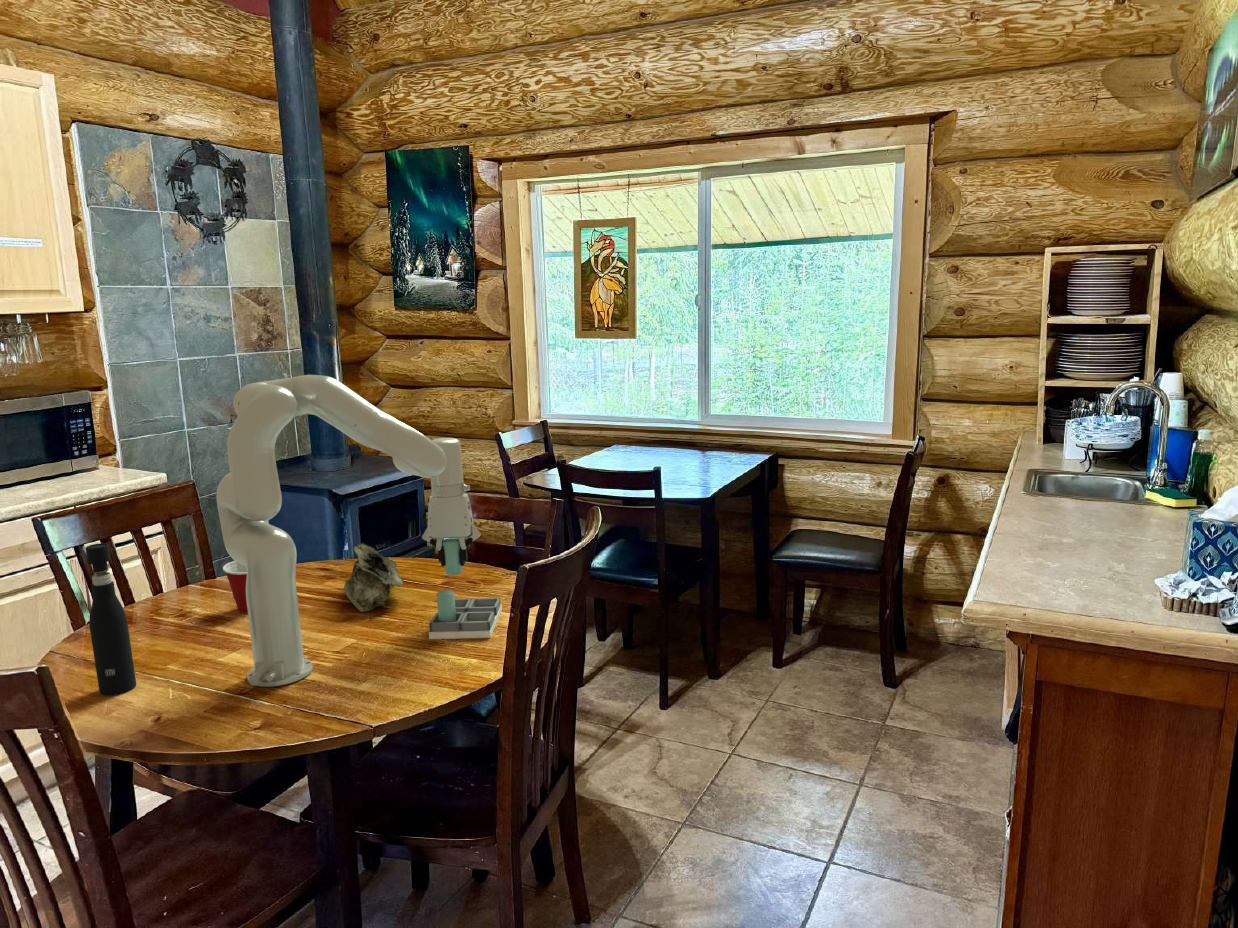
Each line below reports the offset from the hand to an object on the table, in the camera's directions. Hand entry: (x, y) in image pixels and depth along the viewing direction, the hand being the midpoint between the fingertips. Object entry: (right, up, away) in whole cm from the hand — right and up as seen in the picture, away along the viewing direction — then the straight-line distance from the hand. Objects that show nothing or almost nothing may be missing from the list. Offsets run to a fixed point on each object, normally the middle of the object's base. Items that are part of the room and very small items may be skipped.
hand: (453, 563), depth 199 cm
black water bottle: (-61, -22, -32) cm, 72 cm away
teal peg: (0, -2, 0) cm, 2 cm away
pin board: (+4, -14, -2) cm, 15 cm away
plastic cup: (-54, -13, +12) cm, 57 cm away
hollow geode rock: (-24, -11, +20) cm, 33 cm away
